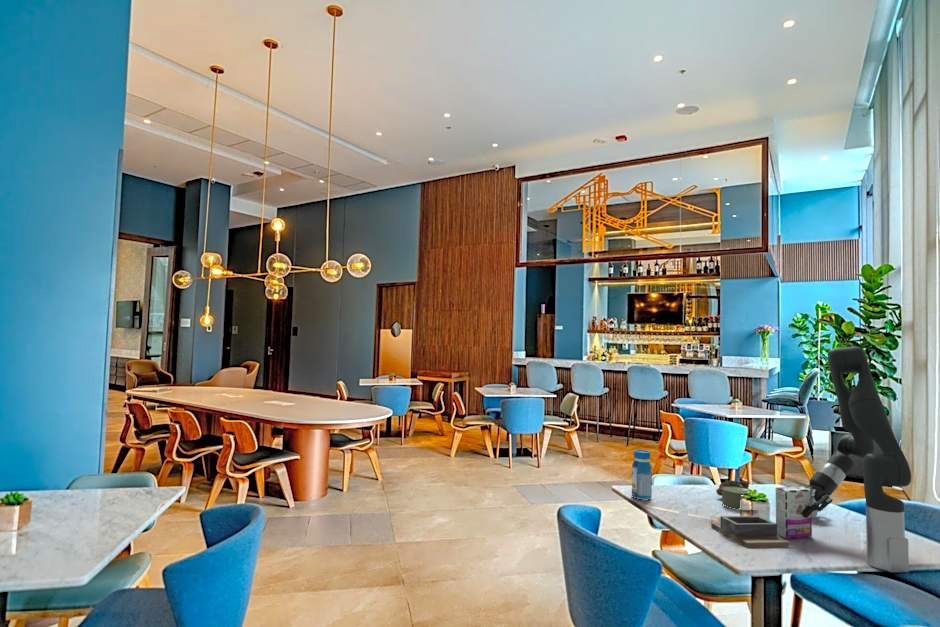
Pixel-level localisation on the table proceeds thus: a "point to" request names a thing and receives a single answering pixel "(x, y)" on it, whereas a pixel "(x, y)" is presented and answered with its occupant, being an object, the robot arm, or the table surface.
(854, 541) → the table surface
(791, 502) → the candy bar box
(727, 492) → the dark grey bowl
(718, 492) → the decorative turtle
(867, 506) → the robot arm
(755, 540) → the display stand
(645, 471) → the beverage bottle
